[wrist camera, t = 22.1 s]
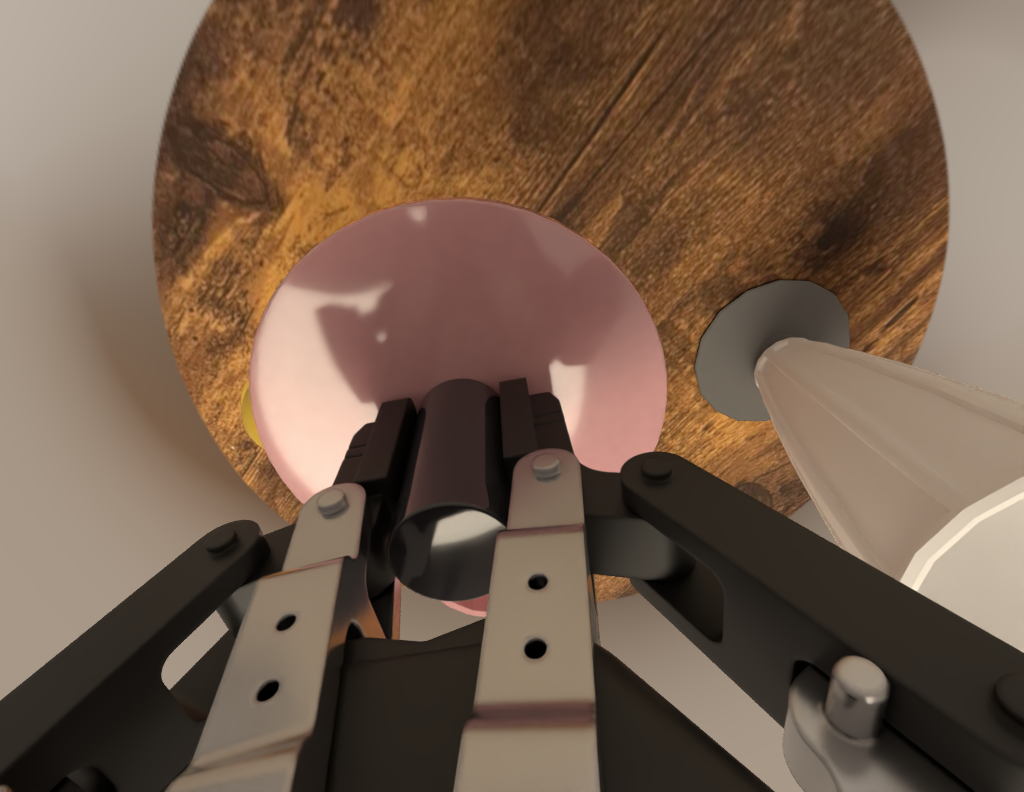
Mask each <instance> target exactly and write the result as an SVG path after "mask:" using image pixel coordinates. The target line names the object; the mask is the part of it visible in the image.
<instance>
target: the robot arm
mask: <svg viewBox="0 0 1024 792" xmlns="http://www.w3.org/2000/svg"><path fill="white" fill-rule="evenodd" d="M499 390H500V408H501V425H502V443H503V458H504V463H505V467H506V472H507V476H508V481H509V486H510V489H511V497H510V506H509V515H508V524H507V530H499V531H498V534H497V538H496V545H495V553H494V560H493V567H492V575H491V582H490V589H489V597H488V604H487V611H486V619H482V620H480V621H477V622H474V623H472V624H470V625H467V626H464V627H462V628H459V629H457V630H454V631H451V632H449V633H446V634H444V635H441V636H439V637H436V638H433V639H431V640H428V641H423V642H417V641H406V640H399V638H400V605H401V583H400V581H399V580H398V579H397V577H396V576H395V575H394V573H393V572H392V570H391V568H390V565H389V562H388V558H387V543H388V539H389V534H390V530H391V526H392V521H393V517H394V513H395V509H396V504H397V500H398V496H399V492H400V487H401V483H402V479H403V474H404V470H405V466H406V462H407V457H408V453H409V449H410V444H411V440H412V436H413V432H414V427H415V423H416V419H417V412H416V408H415V405H414V402H413V400H412V399H411V398H404V399H398V400H393V401H387V402H383V403H382V404H381V406H380V409H379V412H378V414H377V417H376V420H375V422H371V423H366V424H365V425H364V426H363V427H362V428H361V429H360V430H358V431H357V432H356V433H355V434H354V435H353V438H352V440H351V442H350V445H349V447H348V448H349V450H347V452H346V454H345V457H344V458H345V459H344V460H343V461H342V464H341V466H340V468H339V471H338V473H337V475H336V478H335V480H334V482H333V485H332V486H330V487H328V488H325V489H323V490H321V491H320V492H318V493H316V494H315V495H313V496H312V497H311V498H310V499H308V500H307V501H306V503H305V504H304V505H303V507H302V508H301V510H300V513H299V516H298V519H297V523H295V524H292V525H290V526H287V527H285V528H282V529H279V530H277V531H274V532H271V533H269V534H266V535H263V533H262V531H261V529H260V527H259V525H258V524H257V523H255V522H254V521H250V520H239V521H234V522H230V523H227V524H225V525H222V526H220V527H218V528H216V529H214V530H213V531H211V532H209V533H207V534H206V535H205V536H204V537H202V538H201V539H199V540H198V541H197V542H196V543H195V544H193V545H192V546H191V547H190V548H188V549H187V550H186V551H185V552H183V553H182V554H181V555H180V556H178V557H177V558H176V559H175V560H174V561H172V562H171V563H170V564H169V565H167V566H166V567H165V568H164V569H163V570H161V571H160V572H159V573H158V574H156V575H155V576H154V577H153V578H151V579H150V580H149V581H148V582H146V583H145V584H144V585H143V586H142V587H140V588H139V589H138V590H136V591H135V592H134V593H133V594H132V595H130V596H129V597H128V598H127V599H125V600H124V601H123V602H122V603H120V604H119V605H118V606H117V607H116V608H114V609H113V610H112V611H111V612H109V613H108V614H107V615H106V616H104V617H103V618H102V619H101V620H99V621H98V622H97V623H96V624H94V625H93V626H92V627H91V628H90V629H88V630H87V631H86V632H85V633H83V634H82V635H81V636H80V637H79V638H77V639H76V640H75V641H73V642H72V643H71V644H70V645H69V646H67V647H66V648H65V649H64V650H62V651H61V652H60V653H59V654H58V655H56V656H55V657H54V658H53V659H51V660H50V661H49V662H48V663H46V664H45V665H44V666H43V667H41V668H40V669H39V670H38V671H36V672H35V673H34V674H33V675H32V676H30V677H29V678H28V679H27V680H25V681H24V682H23V683H22V684H20V685H19V686H18V687H17V688H16V689H14V690H13V691H12V692H11V693H9V694H8V695H7V696H6V697H4V698H3V699H2V700H1V701H0V792H774V791H773V790H772V789H771V788H770V787H768V786H767V785H766V784H765V783H764V782H763V781H761V780H760V779H759V778H758V777H757V776H756V775H754V774H753V773H752V772H751V771H750V770H748V769H747V768H746V767H745V766H744V765H743V764H741V763H740V762H739V761H738V760H737V759H735V758H734V757H733V756H732V755H731V754H729V753H728V752H727V751H726V750H725V749H724V748H723V747H721V746H720V745H719V744H718V743H716V741H714V740H713V739H712V738H711V737H710V736H708V735H707V734H706V733H705V732H704V731H703V730H701V729H700V728H699V727H698V726H697V725H696V724H694V723H693V722H692V721H691V720H690V719H688V718H687V717H686V716H685V715H684V714H683V713H681V712H680V711H679V710H678V709H677V708H675V707H674V706H673V705H672V704H671V703H670V702H668V701H667V700H666V699H665V698H664V697H662V696H661V695H660V694H659V693H658V692H657V691H655V690H654V689H653V688H652V687H651V686H650V685H648V684H647V683H646V682H645V681H644V680H643V679H641V678H640V677H639V676H638V675H636V674H635V673H634V672H633V671H632V670H631V669H630V668H628V667H627V666H626V665H625V664H624V663H623V662H621V661H620V660H619V659H618V658H617V657H615V656H614V655H613V654H611V653H610V652H609V651H607V650H606V649H604V648H602V647H601V644H600V635H599V624H598V613H597V601H596V590H595V578H594V574H599V575H607V576H616V577H625V578H630V581H631V583H632V585H633V587H634V588H635V589H636V590H637V591H638V592H639V593H640V594H641V595H642V596H643V597H644V598H645V599H647V601H649V602H650V603H651V604H652V605H653V606H654V607H655V608H656V609H657V610H658V611H659V612H660V613H661V614H662V615H663V616H665V617H666V618H667V619H668V620H669V621H670V622H671V623H672V624H673V625H674V626H675V627H676V628H677V629H678V630H679V631H680V632H682V633H683V634H684V635H685V636H686V637H687V638H688V639H689V640H690V641H691V642H692V643H693V644H694V645H696V646H697V647H698V648H699V649H700V650H701V651H702V652H703V653H704V654H705V655H706V656H707V657H708V658H709V659H710V660H711V661H712V662H713V663H715V664H716V665H717V666H718V667H719V668H720V669H721V670H722V671H723V672H724V673H725V674H727V676H728V677H730V678H731V679H732V680H733V681H734V682H735V683H736V684H737V685H738V686H739V687H740V688H741V689H742V690H743V691H744V692H745V693H747V694H748V695H749V696H750V697H751V698H752V699H753V700H754V701H755V702H756V703H757V704H758V705H759V706H760V707H761V708H763V709H764V710H765V711H766V712H767V713H768V714H769V715H770V716H771V717H772V718H773V719H774V720H775V721H776V722H777V723H779V724H780V725H781V726H782V727H783V728H784V734H783V751H784V756H785V759H786V763H787V765H788V768H789V769H790V772H791V774H792V775H793V777H794V779H795V780H796V782H797V783H798V784H799V786H800V787H801V788H802V789H803V791H804V792H1024V653H1023V652H1022V651H1020V650H1018V649H1016V648H1015V647H1013V646H1011V645H1009V644H1008V643H1006V642H1004V641H1002V640H1001V639H999V638H997V637H995V636H994V635H992V634H990V633H988V632H987V631H985V630H983V629H981V628H980V627H978V626H976V625H974V624H973V623H971V622H969V621H967V620H966V619H964V618H962V617H960V616H959V615H957V614H955V613H953V612H952V611H950V610H948V609H946V608H945V607H943V606H941V605H939V604H938V603H936V602H934V601H932V600H931V599H929V598H927V597H925V596H924V595H922V594H920V593H918V592H917V591H915V590H913V589H911V588H910V587H908V586H906V585H904V584H903V583H901V582H899V581H897V580H896V579H894V578H892V577H890V576H889V575H887V574H885V573H883V572H882V571H880V570H878V569H876V568H875V567H873V566H871V565H869V564H868V563H866V562H864V561H862V560H861V559H859V558H857V557H855V556H854V555H852V554H850V553H848V552H847V551H845V550H843V549H841V548H840V547H838V546H836V545H834V544H833V543H831V542H829V541H827V540H826V539H824V538H822V537H820V536H819V535H817V534H815V533H813V532H812V531H810V530H808V529H807V528H805V527H803V526H801V525H799V524H798V523H796V522H794V521H792V520H791V519H789V518H787V517H786V516H784V515H782V514H780V513H779V512H777V511H775V510H773V509H772V508H770V507H768V506H766V505H765V504H763V503H761V502H759V501H758V500H756V499H754V498H752V497H751V496H749V495H747V494H745V493H744V492H742V491H740V490H738V489H737V488H735V487H733V486H731V485H730V484H728V483H726V482H724V481H723V480H721V479H719V478H717V477H716V476H714V475H712V474H710V473H709V472H707V471H705V470H703V469H702V468H700V467H698V466H696V465H695V464H693V463H691V462H689V461H688V460H686V459H684V458H682V457H680V456H678V455H675V454H672V453H667V452H647V453H642V454H639V455H636V456H634V457H632V458H630V459H629V460H627V461H626V462H625V463H624V464H623V466H622V468H621V470H620V473H619V472H603V471H598V470H594V469H591V468H588V467H586V466H584V465H583V464H581V463H580V462H579V459H578V458H577V457H576V456H575V454H574V451H573V447H572V444H571V440H570V437H569V433H568V429H567V426H566V422H565V418H564V415H563V412H562V408H561V404H560V400H559V399H558V398H556V397H555V396H554V395H553V394H551V393H550V392H544V393H538V394H532V395H529V392H528V386H527V381H526V377H524V378H518V379H513V380H507V381H501V382H499ZM215 610H217V612H218V613H219V615H220V617H221V618H222V620H223V621H224V623H225V624H226V626H227V627H228V629H229V630H228V631H227V632H226V633H225V635H223V637H221V638H220V640H219V641H218V642H217V643H216V644H215V645H214V646H213V647H212V648H211V649H210V650H209V651H208V652H207V653H206V654H205V655H204V656H203V657H202V658H201V659H200V660H199V661H198V662H197V663H196V664H195V665H194V666H193V667H192V668H191V669H190V670H189V671H188V672H187V673H186V674H185V675H184V676H183V677H182V678H181V679H180V680H179V681H178V682H177V683H176V684H175V685H174V686H173V687H172V688H171V689H170V690H168V689H167V687H166V686H165V685H164V683H163V682H162V679H161V672H162V667H163V665H164V663H165V661H166V659H167V658H168V656H169V655H170V654H171V653H172V652H173V651H174V649H176V648H177V647H178V646H179V645H180V644H181V643H182V642H183V641H184V640H185V639H186V638H187V637H188V636H189V635H190V634H191V633H192V632H193V631H194V630H196V628H198V627H199V626H200V625H201V624H202V623H203V622H204V621H205V620H206V619H207V618H208V617H209V616H210V615H211V614H212V613H213V612H214V611H215Z"/></svg>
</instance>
